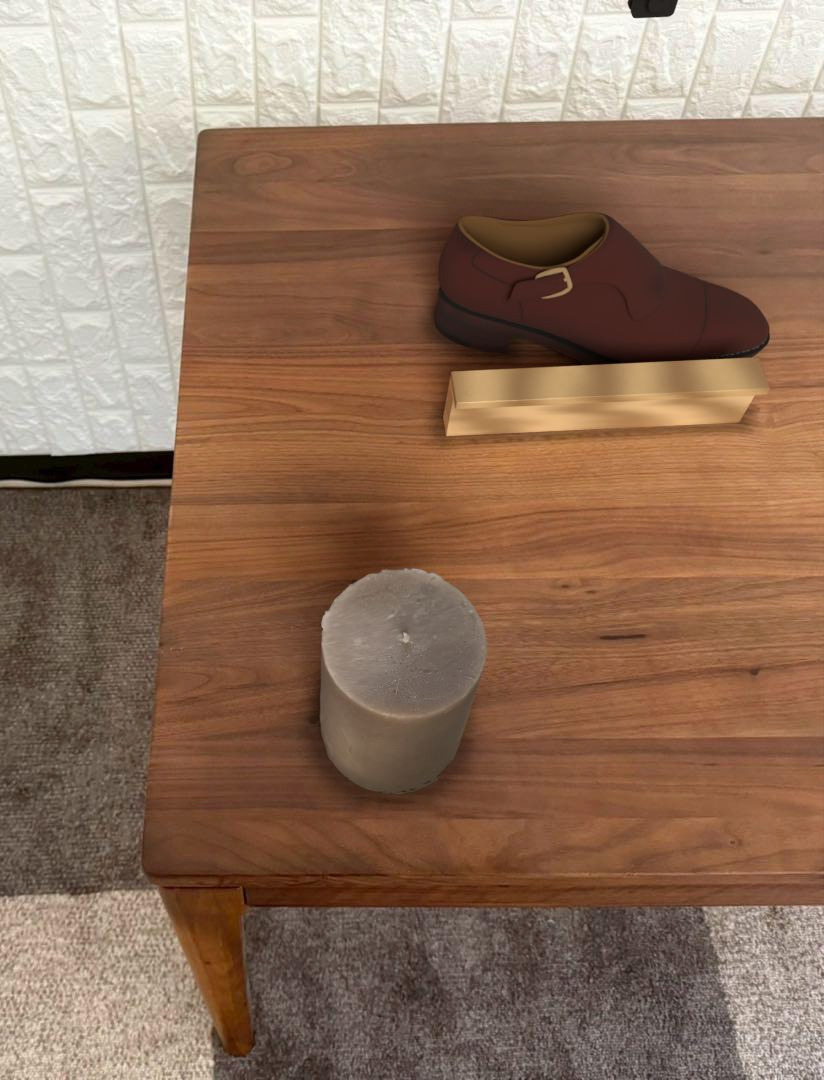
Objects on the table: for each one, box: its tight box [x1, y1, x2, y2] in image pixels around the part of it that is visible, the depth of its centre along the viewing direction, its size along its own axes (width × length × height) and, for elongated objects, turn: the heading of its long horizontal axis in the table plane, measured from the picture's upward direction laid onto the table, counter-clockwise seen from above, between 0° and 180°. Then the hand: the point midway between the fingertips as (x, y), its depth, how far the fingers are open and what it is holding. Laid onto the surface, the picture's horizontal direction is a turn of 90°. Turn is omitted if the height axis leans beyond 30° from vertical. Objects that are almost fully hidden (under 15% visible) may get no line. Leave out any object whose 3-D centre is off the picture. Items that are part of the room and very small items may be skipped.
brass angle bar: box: [442, 356, 771, 437], centre depth 80 cm, size 24×3×6 cm, turn 92°
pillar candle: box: [319, 567, 488, 795], centre depth 63 cm, size 10×10×15 cm
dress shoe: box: [434, 211, 771, 365], centre depth 83 cm, size 9×28×12 cm, turn 81°
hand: (649, 10), depth 77 cm, fingers closed
